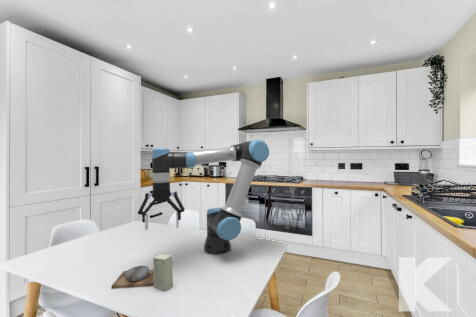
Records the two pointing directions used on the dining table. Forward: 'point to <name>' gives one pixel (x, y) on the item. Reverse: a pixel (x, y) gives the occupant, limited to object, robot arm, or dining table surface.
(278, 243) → the dining table surface
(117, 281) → the bayonet base
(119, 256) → the dining table surface
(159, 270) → the skincare box
